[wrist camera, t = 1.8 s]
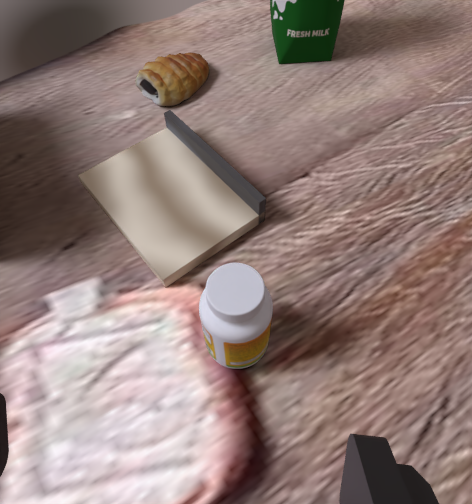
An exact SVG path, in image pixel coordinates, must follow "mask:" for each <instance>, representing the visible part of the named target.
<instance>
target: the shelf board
mask: <svg viewBox="0 0 472 504" xmlns="http://www.w3.org/2000/svg"><path fill="white" fill-rule="evenodd" d="M164 116H165V121H166V126H167V128H165V129H163V130H161V131H159V132H157V133H156V134H154V135H152V136H150V137H148V138H146V139H144V140H143V141H141V142H139V143H137V144H135V145H133V146H131V147H130V148H128V149H126V150H124V151H122V152H120V153H118V154H117V155H115V156H113V157H111V158H109V159H107V160H105V161H104V162H102V163H100V164H98V165H96V166H94V167H92V168H91V169H89V170H87V171H85V172H83V173H81V174H79V175H78V176H79V178H80V181H81V183H82V185H83V186H84V187H85V188H86V190H87V191H88V192H89V193H90V195H91V196H92V197H93V198H94V200H95V201H96V202H97V203H98V205H99V206H100V207H101V208H102V209H103V211H104V212H105V213H106V214H107V216H108V217H109V218H110V219H111V221H112V222H113V223H114V224H115V226H116V227H117V228H118V229H119V231H120V232H121V233H122V234H123V235H124V237H125V238H126V239H127V240H128V242H129V243H130V244H131V245H132V247H133V248H134V249H135V250H136V252H137V253H138V254H139V255H140V257H141V258H142V259H143V260H144V261H145V263H146V264H147V265H148V266H149V268H150V269H151V270H152V271H153V273H154V274H155V275H156V276H157V278H158V279H159V280H160V281H161V283H162V284H163V285H164V286H165V287H167V286H169V285H170V284H172V283H173V282H175V281H176V280H177V279H179V278H180V277H182V276H183V275H185V274H186V273H188V272H189V271H191V270H192V269H194V268H195V267H197V266H198V265H200V264H201V263H202V262H204V261H205V260H207V259H208V258H210V257H211V256H213V255H214V254H216V253H217V252H219V251H220V250H222V249H223V248H224V247H226V246H227V245H229V244H230V243H232V242H233V241H235V240H236V239H238V238H239V237H241V236H242V235H244V234H245V233H246V232H248V231H249V230H251V229H252V228H254V227H255V226H257V225H258V224H260V223H261V222H263V221H264V219H265V205H266V198H265V197H264V196H263V195H262V194H261V193H260V192H259V191H258V190H257V189H256V188H254V187H253V186H252V185H251V184H250V183H249V182H248V181H247V180H246V179H245V178H244V177H242V176H241V175H240V174H239V173H238V172H237V171H236V170H235V169H234V168H233V167H232V166H231V165H229V164H228V163H227V162H226V161H225V160H224V159H223V158H222V157H221V156H220V155H219V154H217V153H216V152H215V151H214V150H213V149H212V148H211V147H210V146H209V145H208V144H207V143H206V142H204V141H203V140H202V139H201V138H200V137H199V136H198V135H197V134H196V133H195V132H194V131H192V130H191V129H190V128H189V127H188V126H187V125H186V124H185V123H184V122H183V121H182V120H180V119H179V118H178V117H177V116H176V115H175V114H174V113H173V112H172V111H171V110H169V111H167V112H165V113H164Z"/></svg>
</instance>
